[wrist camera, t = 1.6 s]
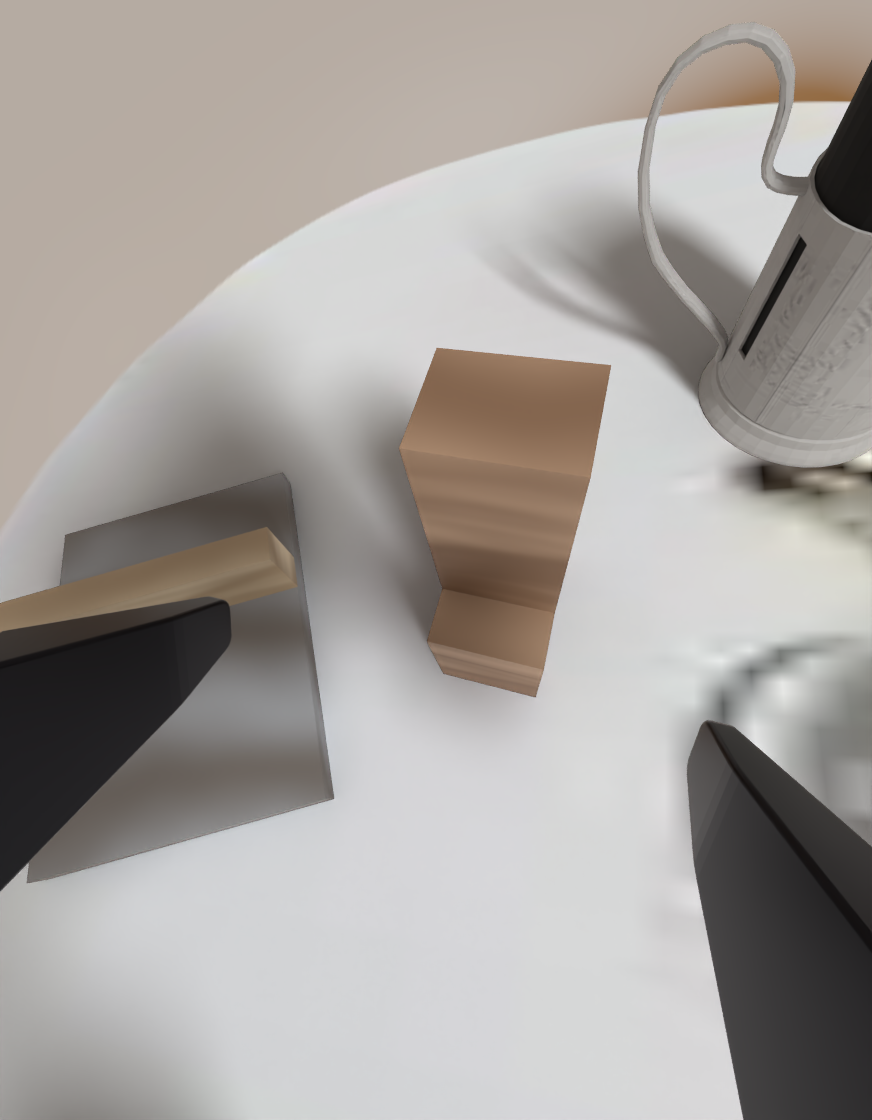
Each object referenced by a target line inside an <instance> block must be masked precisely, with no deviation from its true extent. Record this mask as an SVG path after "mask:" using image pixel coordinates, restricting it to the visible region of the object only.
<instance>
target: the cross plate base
mask: <svg viewBox="0 0 872 1120" xmlns="http://www.w3.org/2000/svg"><path fill="white" fill-rule="evenodd" d="M206 596H211V597H215V598H219V599H223V600H226V601H227V602H228V603H229V606H230V613H231V630H232V638H231V642H230V645H229V647H228V648H227V650H226V651H225V652H224V653H223V655H222V656H221V657H220V658H219V660H218V661H217V662H216V663H215V665H214V666H213V667H212V668H211V670H210V671H209V672H208V673H207V674H206V676H205V677H204V678H203V679H202V681H201V682H200V683H199V684H198V686H197V687H196V688H195V689H194V691H193V692H192V693H191V694H190V696H189V697H188V698H187V699H186V700H185V701H184V703H183V704H182V705H181V706H180V707H179V708H178V709H177V710H176V711H175V712H174V714H173V715H172V716H171V717H170V718H169V719H168V720H167V721H166V722H165V723H164V724H163V725H162V726H161V727H160V728H159V729H158V730H157V731H156V732H155V733H154V734H153V735H152V736H151V737H150V738H149V739H148V740H147V741H146V742H145V743H144V744H143V745H142V746H141V747H140V749H139V750H138V751H137V752H136V753H135V754H134V755H133V756H132V757H131V758H130V759H129V760H128V761H127V762H126V763H125V764H124V765H123V766H122V767H121V768H120V769H119V770H118V771H117V772H116V773H115V774H114V775H113V776H112V777H111V778H110V779H109V780H108V781H107V782H106V783H105V784H104V785H103V787H102V788H101V789H100V790H99V791H98V792H97V793H96V794H95V795H94V796H93V797H92V798H91V799H90V800H89V801H88V802H87V803H86V804H85V805H84V806H83V807H82V808H81V809H80V810H79V811H78V812H77V813H76V814H75V815H74V816H73V817H72V818H71V819H70V820H69V821H68V822H67V823H66V825H65V826H64V827H63V828H62V829H61V830H60V831H59V832H58V833H57V834H56V835H55V836H54V837H53V838H52V839H51V840H50V841H49V842H48V843H47V844H46V845H45V846H44V847H43V848H42V849H41V850H40V851H39V852H38V853H37V854H36V855H35V856H34V857H33V858H32V859H31V860H30V861H29V868H28V877H27V883H31V882H37V881H42V880H48V879H52V878H55V877H59V876H62V875H66V874H69V873H73V872H76V871H80V870H84V869H87V868H91V867H94V866H98V865H101V864H105V863H108V862H112V861H115V860H119V859H123V858H126V857H130V856H133V855H137V854H140V853H144V852H147V851H151V850H154V849H158V848H162V847H165V846H169V845H172V844H176V843H179V842H183V841H186V840H190V839H194V838H197V837H201V836H204V835H208V834H211V833H215V832H218V831H222V830H225V829H229V828H233V827H236V826H240V825H243V824H247V823H250V822H254V821H257V820H261V819H265V818H268V817H272V816H275V815H279V814H282V813H286V812H289V811H293V810H296V809H300V808H304V807H307V806H311V805H314V804H318V803H321V802H325V801H328V800H332V799H334V795H333V788H332V781H331V773H330V766H329V759H328V752H327V745H326V738H325V730H324V723H323V716H322V709H321V702H320V694H319V687H318V680H317V673H316V666H315V659H314V651H313V644H312V637H311V630H310V623H309V615H308V608H307V601H306V594H305V587H304V579H303V572H302V565H301V558H300V551H299V544H298V536H297V529H296V522H295V515H294V508H293V500H292V493H291V486H290V483H289V481H288V480H287V478H286V477H285V475H284V474H283V473H280V474H276V475H273V476H269V477H266V478H262V479H259V480H256V481H252V482H249V483H245V484H242V485H238V486H235V487H231V488H228V489H224V490H221V491H217V492H214V493H210V494H207V495H203V496H200V497H196V498H193V499H189V500H186V501H182V502H179V503H175V504H172V505H168V506H165V507H161V508H158V509H154V510H151V511H147V512H144V513H140V514H137V515H133V516H130V517H126V518H123V519H119V520H116V521H112V522H109V523H105V524H102V525H98V526H95V527H91V528H88V529H84V530H81V531H77V532H74V533H70V534H67V535H65V543H64V552H63V561H62V570H61V579H60V586H58V587H55V588H51V589H48V590H44V591H41V592H37V593H34V594H30V595H27V596H23V597H20V598H16V599H13V600H9V601H6V602H2V603H0V632H2V631H5V630H11V629H17V628H23V627H29V626H35V625H41V624H47V623H53V622H59V621H64V620H70V619H76V618H82V617H88V616H94V615H100V614H106V613H112V612H118V611H123V610H129V609H135V608H141V607H147V606H153V605H159V604H165V603H171V602H177V601H182V600H188V599H194V598H200V597H206Z"/></svg>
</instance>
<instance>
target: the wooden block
mask: <svg viewBox="0 0 872 1120" xmlns="http://www.w3.org/2000/svg"><path fill="white" fill-rule="evenodd" d="M610 369H611V365H603V364H593V363H583V362H573V361H563V360H553V359H543V358H533V357H523V356H513V355H503V354H493V353H483V352H473V351H463V350H453V349H443V348H437V349H436V351H435V354H434V357H433V359H432V362H431V365H430V367H429V370H428V373H427V375H426V378H425V381H424V383H423V386H422V389H421V391H420V394H419V397H418V399H417V402H416V405H415V407H414V410H413V412H412V415H411V418H410V420H409V423H408V426H407V428H406V431H405V434H404V436H403V439H402V442H401V444H400V447H399V450H400V453H401V457H402V460H403V463H404V466H405V470H406V473H407V476H408V479H409V483H410V486H411V489H412V492H413V496H414V499H415V502H416V505H417V508H418V512H419V515H420V518H421V521H422V525H423V528H424V531H425V534H426V538H427V541H428V544H429V547H430V550H431V554H432V557H433V560H434V563H435V567H436V570H437V573H438V576H439V580H440V583H441V586H442V591H441V595H440V598H439V602H438V605H437V608H436V612H435V615H434V619H433V622H432V625H431V629H430V632H429V636H428V639H427V643H428V645H429V647H430V648H431V650H432V652H433V654H434V656H435V658H436V660H437V662H438V664H439V666H440V668H441V670H442V672H443V674H447V675H451V676H455V677H459V678H463V679H467V680H470V681H474V682H478V683H482V684H486V685H490V686H494V687H498V688H502V689H505V690H509V691H513V692H517V693H521V694H525V695H529V696H533V697H536V694H537V690H538V687H539V684H540V680H541V677H542V674H543V670H544V665H545V660H546V655H547V650H548V645H549V639H550V634H551V629H552V624H553V619H554V614H555V610H556V606H557V602H558V598H559V595H560V591H561V587H562V583H563V579H564V576H565V572H566V568H567V564H568V561H569V557H570V553H571V549H572V545H573V542H574V538H575V534H576V530H577V527H578V523H579V519H580V515H581V511H582V508H583V504H584V500H585V496H586V493H587V489H588V485H589V481H590V477H591V472H592V466H593V461H594V456H595V450H596V445H597V439H598V434H599V429H600V423H601V418H602V412H603V407H604V401H605V396H606V391H607V385H608V380H609V374H610Z"/></svg>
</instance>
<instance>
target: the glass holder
mask: <svg viewBox="0 0 872 1120" xmlns="http://www.w3.org/2000/svg"><path fill="white" fill-rule="evenodd" d="M738 43H748V44H751V45H754V46H756V47H759V48H762V50H763V51H764V52H765V53H766V54H767V55H768V57H769V58H770V59H771V60H772V61H773V63H774V66H775V69H776V72H777V75H778V79H779V82H780V90H779V105H778V109H777V112H776V116H775V120H774V124H773V127H772V129H771V132H770V135H769V138H768V140H767V143H766V147H765V151H764V154H763V158H762V163H761V175H762V179H763V181H764V183H765V185H766V186H767V188H769V189H771V190H773V191H774V192H776V193H781V194H786V195H796V196H798V198H797V200H796V202H795V204H794V206H793V208H792V210H791V213H790V215H789V217H788V219H787V221H786V223H785V225H784V227H783V229H782V231H781V233H780V235H779V237H778V239H777V241H776V243H775V245H774V247H773V250H772V252H771V254H770V256H769V258H768V260H767V262H766V264H765V266H764V268H763V270H762V272H761V274H760V276H759V278H758V280H757V282H756V284H755V286H754V289H753V291H752V293H751V295H750V297H749V299H748V301H747V303H746V305H745V307H744V309H743V311H742V313H741V315H740V317H739V319H738V321H737V323H736V325H735V328H734V330H733V332H732V334H731V336H730V338H729V340H728V338H727V334H726V332H725V330H724V328H723V327H722V325H721V324H720V322H719V321H718V320H717V318H716V317H715V316H714V315H713V313H712V312H711V311H710V310H709V309H708V308H707V307H706V306H705V304H704V303H703V302H702V301H701V300H700V299H699V298H698V297H697V296H696V295H695V294H694V293H693V292H692V291H691V290H690V289H689V287H688V286H687V285H686V284H685V282H684V281H683V280H682V279H681V277H680V276H679V275H678V273H677V272H676V271H675V269H674V268H673V267H672V265H671V263H670V262H669V260H668V259H667V257H666V255H665V254H664V252H663V250H662V247H661V244H660V241H659V238H658V236H657V233H656V229H655V225H654V220H653V215H652V210H651V205H650V180H649V167H650V160H651V153H652V147H653V140H654V133H655V127H656V123H657V120H658V117H659V114H660V110H661V108H662V105H663V102H664V99H665V96H666V94H667V92H668V91H669V89H670V88H671V86H672V85H673V83H674V82H675V80H676V79H677V77H678V75H679V74H680V73H681V71H682V70H683V69H684V68H686V67H687V66H688V65H689V64H691V63H692V62H693V61H695V60H696V59H697V58H698V57H700V56H701V55H702V54H705V53H707V52H709V51H712V50H715V49H717V48H720V47H722V46H725V45H731V44H738ZM794 84H795V67H794V64H793V60H792V56H791V53H790V49H789V46H788V45H787V44H786V43H785V42H784V40H783V39H782V38H781V37H780V36H779V34H778V33H777V32H776V31H775V30H774V29H772V28H769V27H766V26H763V25H761V24H758V23H755V22H750V23H739V24H730V25H728V26H725V27H723V28H721V29H718V30H716V31H714V32H711V33H709V34H706V35H704V36H702V37H701V38H700V39H699V40H698V41H696V42H695V43H694V44H693V45H692V46H690V47H689V48H688V49H687V50H686V51H685V52H683V53H682V54H681V55H680V56H679V57H677V59H676V61H675V62H674V64H673V65H672V67H671V68H670V70H669V71H668V73H667V74H666V76H665V77H664V79H663V80H662V82H661V83H660V85H659V86H658V89H657V92H656V95H655V99H654V102H653V105H652V108H651V111H650V114H649V117H648V120H647V123H646V126H645V131H644V137H643V143H642V149H641V156H640V162H639V168H638V208H639V214H640V219H641V224H642V230H643V235H644V239H645V242H646V245H647V249H648V252H649V255H650V258H651V261H652V263H653V265H654V266H655V268H656V269H657V271H658V272H659V273H660V275H661V276H662V278H663V279H664V280H665V281H666V283H667V284H668V285H669V286H670V287H671V289H672V290H673V291H674V292H675V293H676V295H677V296H678V297H679V298H680V300H681V301H682V302H683V303H684V304H685V305H686V306H687V307H688V308H689V310H690V311H691V312H692V313H693V314H694V315H695V316H696V317H697V318H698V319H699V320H700V321H701V322H702V324H703V325H704V326H705V327H706V328H707V329H708V330H709V332H710V333H711V334H712V335H713V337H714V338H715V339H716V341H717V342H718V344H719V346H718V349H717V351H716V355H715V357H714V358H713V359H712V360H711V361H710V362H709V363H708V365H707V366H706V368H705V370H704V371H703V373H702V376H701V379H700V382H699V393H698V395H699V400H700V405H701V408H702V410H703V412H704V414H705V417H706V418H707V419H708V421H709V422H710V424H711V425H712V427H713V428H714V429H715V430H716V431H717V432H718V433H719V434H720V435H721V436H722V437H723V438H724V439H726V440H727V441H729V442H730V443H731V444H733V445H734V446H735V447H737V448H739V449H741V450H743V451H745V452H746V453H748V454H750V455H753V456H755V457H758V458H760V459H763V460H766V461H769V462H773V463H777V464H781V465H787V466H795V467H824V466H831V465H837V464H840V463H844V462H847V461H850V460H853V459H855V458H857V457H859V456H861V455H863V454H865V453H866V452H867V451H869V450H870V449H871V448H872V60H871V62H870V64H869V66H868V68H867V70H866V72H865V74H864V76H863V78H862V81H861V82H860V84H859V86H858V88H857V91H856V93H855V95H854V97H853V99H852V100H851V102H850V105H849V107H848V109H847V111H846V113H845V115H844V117H843V119H842V121H841V123H840V125H839V127H838V129H837V131H836V133H835V135H834V137H833V139H832V141H831V143H830V145H829V147H828V148H827V149H826V150H825V151H824V152H823V153H822V154H821V155H820V156H819V157H818V159H817V161H816V162H815V164H814V166H813V167H812V169H811V171H810V174H809V176H808V177H792V176H786V175H782V174H780V173H778V172H776V171H775V169H774V167H773V161H774V158H775V155H776V152H777V149H778V147H779V144H780V142H781V139H782V137H783V134H784V132H785V129H786V126H787V122H788V119H789V115H790V112H791V108H792V105H793V100H794V99H793V98H794ZM727 341H728V342H727Z"/></svg>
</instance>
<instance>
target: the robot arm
mask: <svg viewBox="0 0 872 1120" xmlns="http://www.w3.org/2000/svg"><path fill="white" fill-rule="evenodd" d="M231 638H232V630H231V613H230V606H229V603H228V602H227V601H226V600H223V599H219V598H215V597H211V596H206V597H200V598H194V599H188V600H182V601H177V602H171V603H165V604H159V605H153V606H147V607H141V608H135V609H129V610H123V611H118V612H112V613H106V614H100V615H94V616H88V617H82V618H76V619H70V620H64V621H59V622H53V623H47V624H41V625H35V626H29V627H23V628H17V629H11V630H5V631H2V632H0V891H1V890H2V889H3V888H4V887H5V886H6V885H7V884H8V883H9V882H10V881H11V880H12V879H13V878H14V877H15V876H16V875H17V874H18V873H19V872H20V871H21V870H22V869H23V868H24V867H25V866H26V865H27V864H28V863H29V861H30V860H31V859H32V858H33V857H34V856H35V855H36V854H37V853H38V852H39V851H40V850H41V849H42V848H43V847H44V846H45V845H46V844H47V843H48V842H49V841H50V840H51V839H52V838H53V837H54V836H55V835H56V834H57V833H58V832H59V831H60V830H61V829H62V828H63V827H64V826H65V825H66V823H67V822H68V821H69V820H70V819H71V818H72V817H73V816H74V815H75V814H76V813H77V812H78V811H79V810H80V809H81V808H82V807H83V806H84V805H85V804H86V803H87V802H88V801H89V800H90V799H91V798H92V797H93V796H94V795H95V794H96V793H97V792H98V791H99V790H100V789H101V788H102V787H103V785H104V784H105V783H106V782H107V781H108V780H109V779H110V778H111V777H112V776H113V775H114V774H115V773H116V772H117V771H118V770H119V769H120V768H121V767H122V766H123V765H124V764H125V763H126V762H127V761H128V760H129V759H130V758H131V757H132V756H133V755H134V754H135V753H136V752H137V751H138V750H139V749H140V747H141V746H142V745H143V744H144V743H145V742H146V741H147V740H148V739H149V738H150V737H151V736H152V735H153V734H154V733H155V732H156V731H157V730H158V729H159V728H160V727H161V726H162V725H163V724H164V723H165V722H166V721H167V720H168V719H169V718H170V717H171V716H172V715H173V714H174V712H175V711H176V710H177V709H178V708H179V707H180V706H181V705H182V704H183V703H184V701H185V700H186V699H187V698H188V697H189V696H190V694H191V693H192V692H193V691H194V689H195V688H196V687H197V686H198V684H199V683H200V682H201V681H202V679H203V678H204V677H205V676H206V674H207V673H208V672H209V671H210V670H211V668H212V667H213V666H214V665H215V663H216V662H217V661H218V660H219V658H220V657H221V656H222V655H223V653H224V652H225V651H226V650H227V648H228V647H229V645H230V642H231ZM687 782H688V796H689V809H690V822H691V836H692V849H693V859H694V867H695V873H696V879H697V884H698V889H699V894H700V899H701V905H702V910H703V915H704V920H705V925H706V930H707V935H708V940H709V946H710V951H711V956H712V961H713V966H714V971H715V976H716V981H717V987H718V992H719V997H720V1002H721V1007H722V1012H723V1017H724V1022H725V1028H726V1033H727V1038H728V1043H729V1048H730V1053H731V1058H732V1064H733V1069H734V1074H735V1079H736V1084H737V1089H738V1094H739V1099H740V1105H741V1110H742V1115H743V1120H872V847H871V846H870V845H869V844H868V843H867V842H866V841H865V840H863V839H862V838H861V837H860V836H859V835H858V834H857V833H855V832H854V831H853V830H852V829H851V828H850V827H849V826H847V825H846V824H845V823H844V822H843V821H842V820H840V819H839V818H838V817H837V816H836V815H835V814H834V813H832V812H831V811H830V810H829V809H828V808H827V807H826V806H824V805H823V804H822V803H821V802H820V801H819V800H817V799H816V798H815V797H814V796H813V795H812V794H811V793H809V792H808V791H807V790H806V789H805V788H804V787H803V786H801V785H800V784H799V783H798V782H797V781H796V780H795V779H793V778H792V777H791V776H790V775H789V774H788V773H786V772H785V771H784V770H783V769H782V768H781V767H780V766H778V765H777V764H776V763H775V762H774V761H773V760H772V759H770V758H769V757H768V756H767V755H766V754H765V753H763V752H762V751H761V750H760V749H759V748H758V747H757V746H755V745H754V744H753V743H752V742H751V741H750V740H749V739H747V738H746V737H745V736H744V735H743V734H742V733H741V732H739V731H738V730H737V729H736V728H735V727H733V726H731V725H727V724H723V723H719V722H715V721H711V720H707V721H705V722H703V724H702V725H701V727H700V729H699V732H698V735H697V737H696V740H695V743H694V745H693V748H692V751H691V754H690V756H689V759H688V764H687Z"/></svg>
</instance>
